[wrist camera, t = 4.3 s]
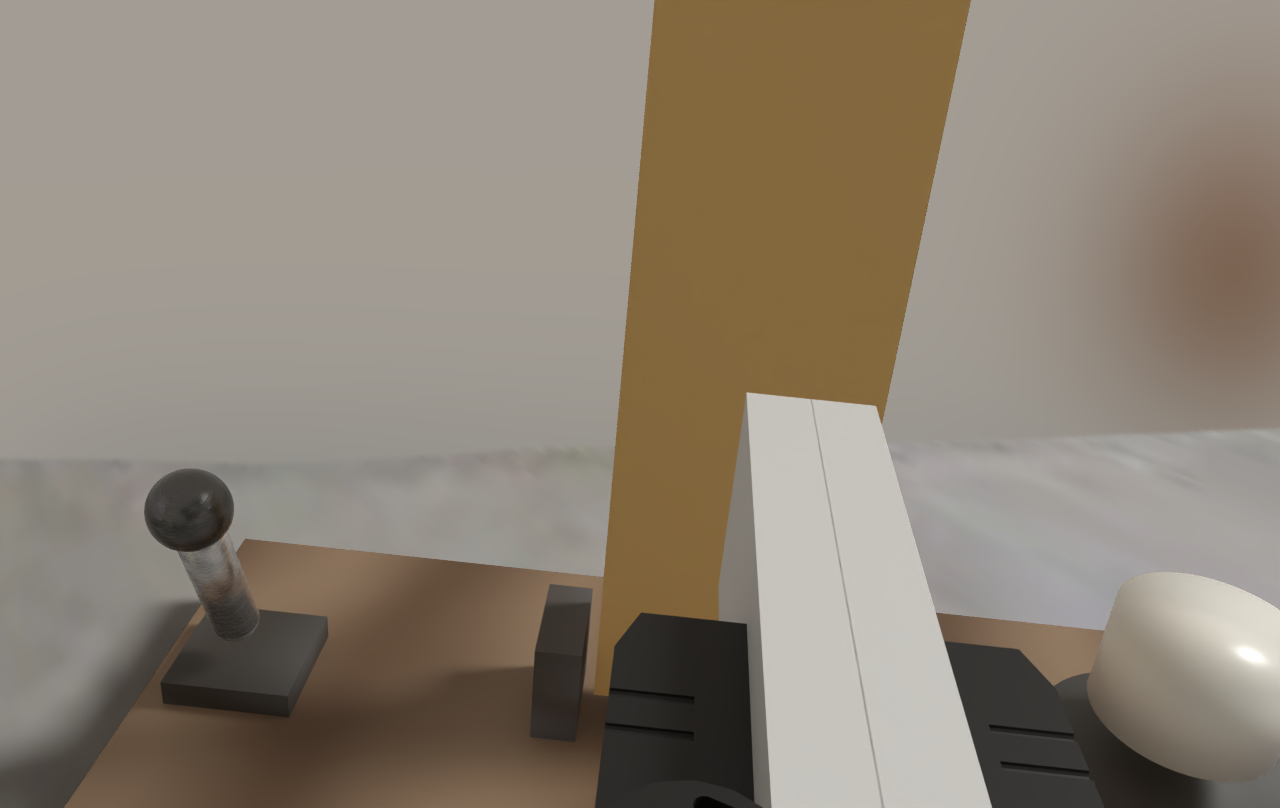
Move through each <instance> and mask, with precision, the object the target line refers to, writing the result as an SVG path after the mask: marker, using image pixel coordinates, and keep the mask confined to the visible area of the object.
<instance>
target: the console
mask: <svg viewBox="0 0 1280 808" xmlns="http://www.w3.org/2000/svg"><path fill="white" fill-rule="evenodd" d="M236 554H237V556H238V559H239V562H240V564H241V567H242V569H243V572H244V574H245V577H246V580H247V582H248V585H249V587H250V590H251V593H252V595H253V598H254V600H255V603H256V605H257V608H258V611H259V616H260V620H259V624H258V627H257V629H256V630H255V632H254V633H253V634H252V635H251V636H250V637H249V638H247V639H245V640H243V641H240V642H229V641H225V640H223V639H221V638H220V637H219V636H218V635H217V634H216V633H215V632H214V630H213V628H212V626H211V624H210V621H209V619H208V617H207V615H206V613H205V610H204V608H203V606H202V604H201V605H200V607H199V608H198V610H197V611H196V613H195V614H194V616H193V617H192V619H191V620H190V622H189V623H188V625H187V626H186V628H185V629H184V630H183V632H182V633H181V635H180V636H179V638H178V639H177V641H176V642H175V644H174V645H173V647H172V648H171V650H170V651H169V653H168V654H167V656H166V657H165V659H164V660H163V662H162V663H161V665H160V666H159V668H158V669H157V671H156V672H155V673H154V675H153V676H152V678H151V679H150V681H149V682H148V684H147V685H146V687H145V688H144V690H143V691H142V693H141V694H140V696H139V697H138V699H137V700H136V702H135V703H134V705H133V706H132V708H131V709H130V711H129V712H128V714H127V715H126V716H125V718H124V719H123V721H122V722H121V724H120V725H119V727H118V728H117V730H116V731H115V733H114V734H113V736H112V737H111V739H110V740H109V742H108V743H107V745H106V746H105V748H104V749H103V751H102V752H101V754H100V755H99V757H98V758H97V759H96V761H95V762H94V764H93V765H92V767H91V768H90V770H89V771H88V773H87V774H86V776H85V777H84V779H83V780H82V782H81V783H80V785H79V786H78V788H77V789H76V791H75V792H74V794H73V795H72V797H71V798H70V800H69V801H68V802H67V804H66V805H65V807H64V808H595V801H596V793H597V785H598V776H599V768H600V760H601V752H602V744H603V736H604V729H605V719H606V711H607V703H608V696H602V695H594V683H595V672H596V661H597V649H598V638H599V626H600V615H601V604H602V592H603V581H604V577H596V576H587V575H578V574H568V573H559V572H550V571H540V570H531V569H522V568H512V567H503V566H494V565H484V564H475V563H466V562H456V561H447V560H438V559H428V558H419V557H410V556H400V555H391V554H382V553H372V552H363V551H354V550H344V549H335V548H326V547H316V546H307V545H298V544H288V543H279V542H270V541H260V540H251V539H245V540H244V542H243V543H242V545H241V546H240V547H239V549H238V550H237V552H236ZM936 615H937V619H938V622H939V626H940V629H941V633H942V636H943V640H944V641H948V642H957V643H966V644H976V645H985V646H994V647H1004V648H1013V649H1019V650H1020V651H1021V652H1022V653H1023V654H1024V655H1025V656H1026V657H1027V658H1028V659H1029V661H1030V662H1031V663H1032V664H1033V665H1034V666H1035V667H1036V668H1037V669H1038V670H1039V671H1040V672H1041V673H1042V674H1043V675H1044V677H1045V678H1046V679H1047V680H1048V681H1049V682H1050V683H1051V684H1052V685H1053V686H1054V687H1055V688H1056V689H1057V692H1058V694H1059V697H1060V699H1061V702H1062V704H1063V707H1064V709H1065V712H1066V714H1067V717H1068V719H1069V721H1070V724H1071V726H1072V729H1073V731H1074V742H1078V744H1079V746H1080V749H1081V751H1082V754H1083V756H1084V758H1085V761H1086V763H1087V766H1088V768H1089V780H1093V781H1094V783H1095V786H1096V788H1097V791H1098V793H1099V795H1100V798H1101V800H1102V803H1103V805H1104V808H1280V757H1279V759H1278V761H1277V763H1276V764H1275V766H1274V767H1273V768H1272V769H1271V770H1270V771H1269V772H1268V773H1266V774H1265V775H1263V776H1261V777H1259V778H1256V779H1253V780H1248V781H1242V782H1217V781H1210V780H1204V779H1199V778H1195V777H1191V776H1188V775H1185V774H1182V773H1178V772H1176V771H1173V770H1171V769H1168V768H1166V767H1163V766H1161V765H1159V764H1157V763H1155V762H1153V761H1151V760H1149V759H1147V758H1146V757H1144V756H1142V755H1140V754H1139V753H1137V752H1136V751H1134V750H1133V749H1131V748H1130V747H1128V746H1127V745H1126V744H1124V743H1123V742H1122V741H1121V740H1119V739H1118V738H1117V737H1116V736H1115V735H1114V734H1113V733H1112V732H1111V731H1109V730H1108V729H1107V727H1106V726H1105V725H1104V724H1103V723H1102V722H1101V720H1100V719H1099V718H1098V716H1097V715H1096V713H1095V712H1094V710H1093V708H1092V706H1091V704H1090V701H1089V698H1088V694H1087V681H1088V678H1089V675H1090V672H1091V669H1092V666H1093V663H1094V660H1095V657H1096V654H1097V651H1098V648H1099V646H1100V643H1101V640H1102V637H1103V634H1104V631H1101V630H1091V629H1082V628H1073V627H1063V626H1054V625H1045V624H1035V623H1026V622H1017V621H1007V620H998V619H989V618H979V617H970V616H961V615H951V614H942V613H936Z"/></svg>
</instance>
